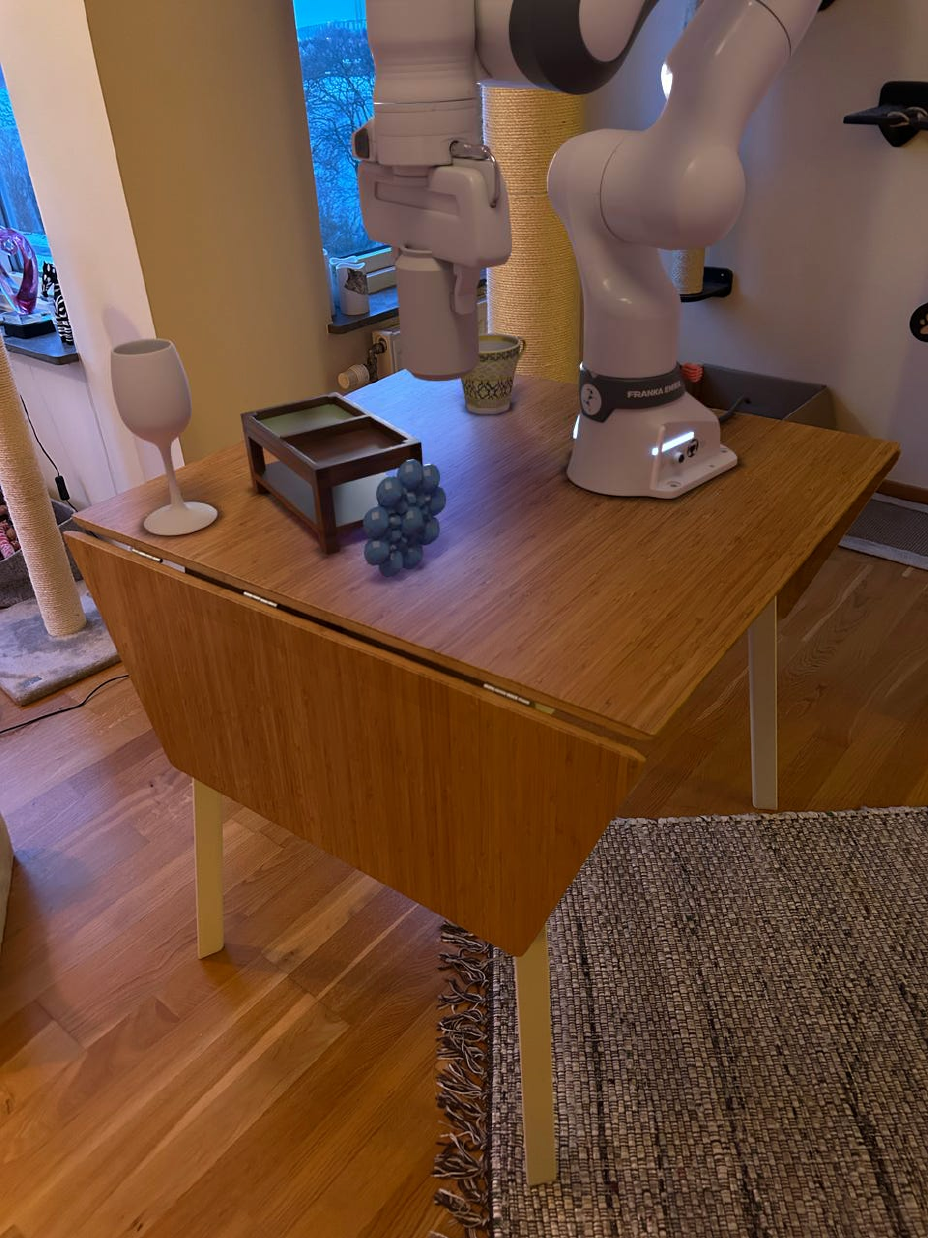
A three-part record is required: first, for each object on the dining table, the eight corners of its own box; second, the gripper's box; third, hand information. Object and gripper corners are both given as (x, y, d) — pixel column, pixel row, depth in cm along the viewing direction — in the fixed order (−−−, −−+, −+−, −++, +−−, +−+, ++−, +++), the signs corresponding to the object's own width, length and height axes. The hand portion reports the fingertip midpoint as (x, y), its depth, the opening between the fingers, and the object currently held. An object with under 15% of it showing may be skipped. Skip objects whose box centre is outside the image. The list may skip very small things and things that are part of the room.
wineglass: (198, 538, 107) (159, 358, 95) (130, 534, 108) (84, 357, 97) (229, 506, 114) (196, 335, 103) (165, 502, 115) (125, 334, 104)
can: (456, 355, 94) (450, 230, 88) (494, 374, 88) (490, 242, 82) (390, 369, 91) (379, 241, 85) (425, 389, 86) (415, 254, 79)
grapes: (418, 537, 105) (411, 437, 98) (462, 554, 101) (457, 451, 94) (342, 576, 98) (329, 472, 91) (386, 597, 94) (375, 489, 87)
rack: (344, 465, 124) (335, 390, 118) (427, 523, 108) (421, 439, 102) (253, 489, 118) (239, 412, 112) (326, 555, 102) (315, 468, 96)
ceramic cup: (486, 423, 135) (484, 355, 129) (442, 408, 141) (439, 342, 136) (548, 402, 142) (549, 336, 136) (504, 388, 148) (503, 325, 143)
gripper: (529, 141, 73) (530, 318, 80) (400, 129, 87) (410, 280, 95) (463, 149, 70) (470, 332, 77) (341, 135, 85) (356, 290, 92)
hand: (436, 303), depth 86 cm, fingers closed on can, 7 cm apart
